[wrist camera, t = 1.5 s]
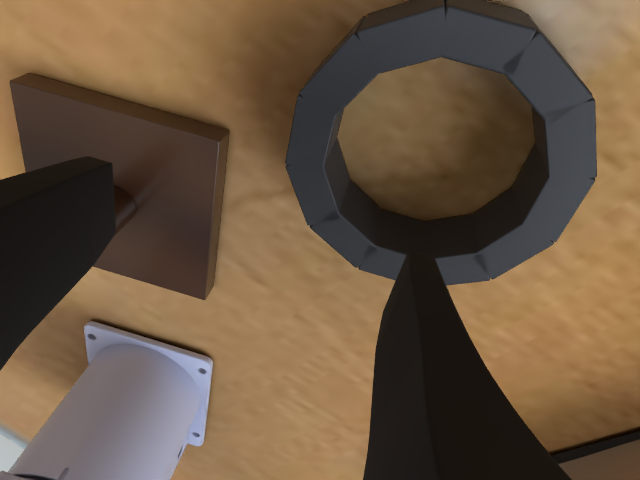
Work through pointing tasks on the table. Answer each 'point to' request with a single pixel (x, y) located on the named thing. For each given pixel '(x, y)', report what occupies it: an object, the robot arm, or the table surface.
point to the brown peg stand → (136, 177)
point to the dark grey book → (604, 460)
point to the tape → (501, 213)
